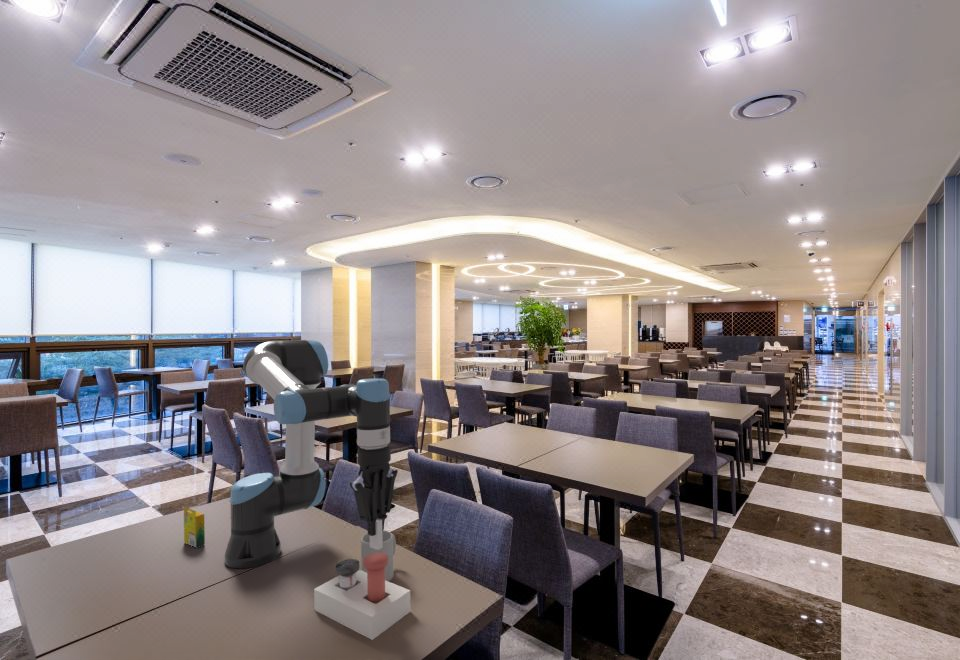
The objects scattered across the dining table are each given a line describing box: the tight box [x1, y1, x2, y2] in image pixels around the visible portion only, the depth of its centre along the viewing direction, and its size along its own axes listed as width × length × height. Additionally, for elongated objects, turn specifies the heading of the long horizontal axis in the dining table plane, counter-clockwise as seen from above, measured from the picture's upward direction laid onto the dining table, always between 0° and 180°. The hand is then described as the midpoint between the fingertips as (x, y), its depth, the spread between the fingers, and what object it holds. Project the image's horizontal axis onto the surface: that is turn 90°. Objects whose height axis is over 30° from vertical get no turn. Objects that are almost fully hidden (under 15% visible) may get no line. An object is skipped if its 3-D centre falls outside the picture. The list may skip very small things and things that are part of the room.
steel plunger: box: [335, 558, 360, 591], centre depth 112 cm, size 6×6×9 cm
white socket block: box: [313, 569, 412, 641], centre depth 109 cm, size 20×12×5 cm, turn 56°
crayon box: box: [183, 506, 206, 548], centre depth 146 cm, size 7×3×12 cm, turn 58°
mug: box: [360, 530, 397, 582], centre depth 126 cm, size 12×8×11 cm
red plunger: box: [364, 553, 388, 603], centre depth 106 cm, size 6×6×9 cm
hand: (376, 547), depth 106 cm, fingers closed
